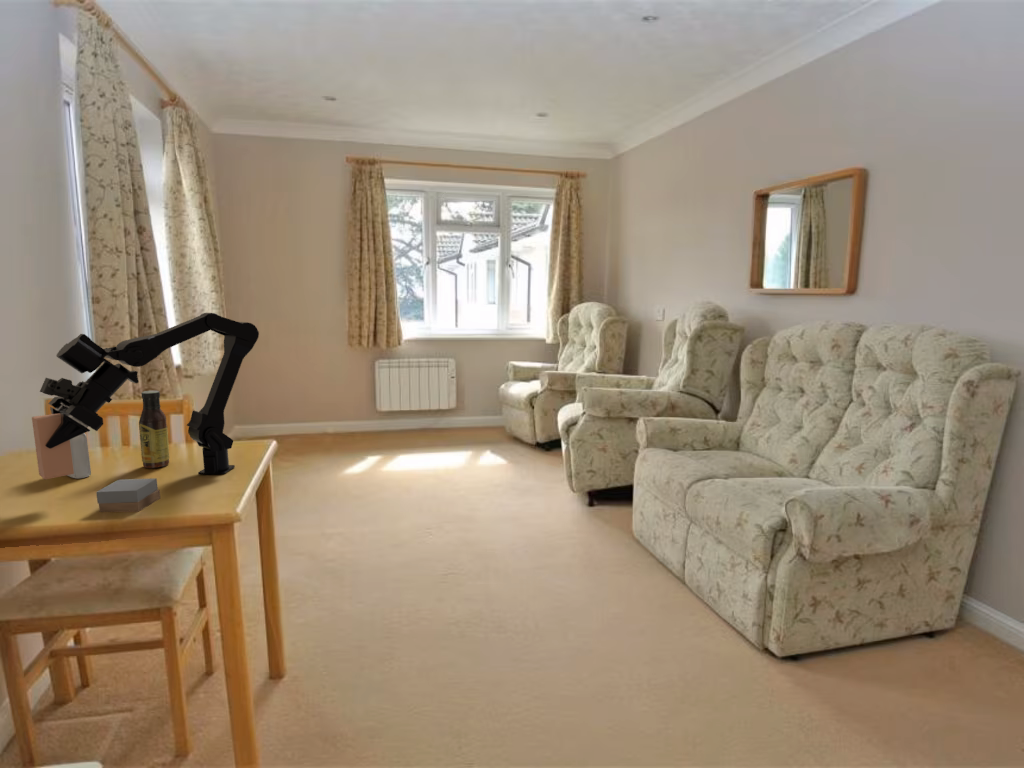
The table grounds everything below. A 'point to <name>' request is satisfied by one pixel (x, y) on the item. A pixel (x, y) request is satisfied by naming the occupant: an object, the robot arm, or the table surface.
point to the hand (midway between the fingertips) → (44, 445)
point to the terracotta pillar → (55, 458)
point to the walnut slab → (130, 504)
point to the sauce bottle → (153, 432)
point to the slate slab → (127, 490)
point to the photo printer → (80, 457)
